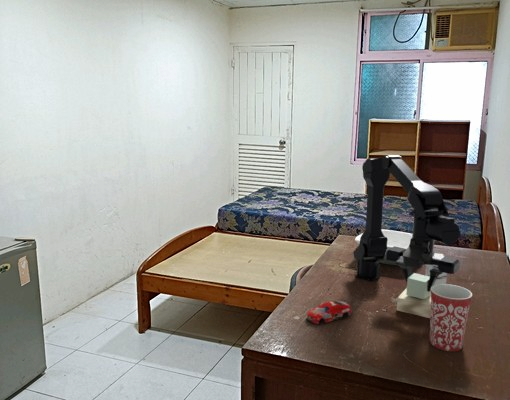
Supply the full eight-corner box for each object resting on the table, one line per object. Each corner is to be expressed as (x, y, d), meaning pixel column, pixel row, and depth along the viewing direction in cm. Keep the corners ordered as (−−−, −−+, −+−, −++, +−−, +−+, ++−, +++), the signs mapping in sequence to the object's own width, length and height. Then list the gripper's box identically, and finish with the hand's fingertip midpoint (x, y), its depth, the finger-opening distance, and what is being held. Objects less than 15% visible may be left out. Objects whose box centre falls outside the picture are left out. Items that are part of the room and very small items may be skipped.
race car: (314, 327, 118) (314, 313, 117) (302, 319, 123) (303, 305, 122) (355, 317, 124) (355, 303, 123) (342, 309, 129) (343, 296, 128)
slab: (396, 311, 128) (397, 297, 128) (405, 300, 136) (406, 287, 135) (430, 319, 123) (431, 305, 123) (437, 307, 131) (438, 294, 130)
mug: (469, 356, 104) (475, 300, 102) (426, 350, 107) (431, 295, 104) (462, 331, 116) (468, 281, 113) (424, 326, 119) (428, 276, 116)
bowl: (348, 262, 169) (350, 239, 167) (371, 247, 187) (372, 227, 186) (409, 274, 156) (411, 250, 155) (427, 257, 175) (429, 236, 173)
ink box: (445, 299, 136) (449, 261, 133) (428, 298, 136) (431, 260, 134) (440, 289, 144) (443, 252, 142) (423, 287, 145) (426, 251, 143)
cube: (406, 294, 128) (407, 277, 127) (412, 289, 132) (414, 273, 131) (424, 299, 125) (425, 282, 124) (430, 294, 129) (432, 277, 128)
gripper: (378, 234, 125) (375, 288, 128) (449, 248, 113) (444, 307, 117) (395, 227, 134) (391, 277, 137) (462, 238, 122) (457, 294, 125)
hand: (418, 288), depth 128 cm, fingers open, 5 cm apart
